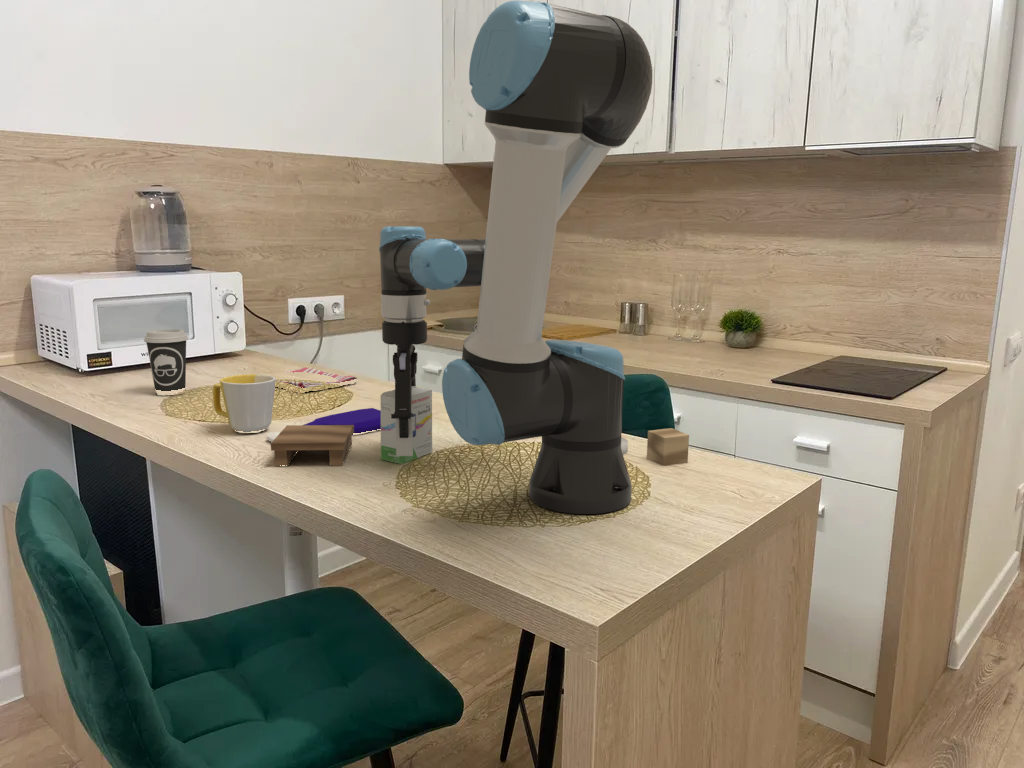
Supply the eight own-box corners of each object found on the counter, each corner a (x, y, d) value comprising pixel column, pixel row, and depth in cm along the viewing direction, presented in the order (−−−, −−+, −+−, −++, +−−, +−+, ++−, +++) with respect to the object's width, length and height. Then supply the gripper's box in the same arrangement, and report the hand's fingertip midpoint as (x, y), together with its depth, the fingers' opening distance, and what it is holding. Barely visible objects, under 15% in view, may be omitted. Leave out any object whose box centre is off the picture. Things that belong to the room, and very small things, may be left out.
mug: (289, 429, 151) (286, 377, 149) (244, 440, 143) (241, 385, 141) (246, 419, 159) (243, 369, 157) (202, 429, 151) (198, 377, 149)
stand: (345, 465, 128) (344, 442, 127) (272, 466, 127) (270, 443, 127) (354, 446, 140) (354, 424, 139) (287, 446, 139) (286, 425, 138)
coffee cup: (200, 392, 185) (196, 330, 182) (164, 399, 177) (159, 334, 174) (176, 387, 190) (171, 327, 187) (140, 394, 182) (134, 331, 179)
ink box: (411, 448, 139) (410, 384, 136) (434, 453, 136) (433, 388, 134) (379, 460, 132) (377, 393, 129) (402, 465, 129) (401, 396, 127)
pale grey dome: (632, 458, 135) (632, 447, 135) (581, 458, 134) (582, 447, 134) (621, 444, 144) (622, 434, 143) (574, 444, 143) (574, 434, 143)
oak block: (687, 463, 132) (689, 435, 131) (663, 466, 130) (664, 438, 129) (670, 455, 136) (671, 428, 135) (646, 458, 134) (647, 430, 133)
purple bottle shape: (369, 406, 161) (257, 426, 144) (398, 415, 153) (283, 438, 137) (370, 419, 161) (258, 442, 145) (399, 429, 153) (284, 454, 137)
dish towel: (303, 396, 184) (302, 382, 183) (249, 384, 198) (248, 370, 197) (359, 386, 196) (358, 373, 196) (304, 375, 211) (304, 362, 210)
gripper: (423, 327, 118) (425, 465, 122) (429, 312, 141) (431, 429, 145) (374, 327, 118) (378, 466, 122) (388, 312, 140) (391, 429, 144)
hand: (407, 446), depth 133 cm, fingers open, 10 cm apart
